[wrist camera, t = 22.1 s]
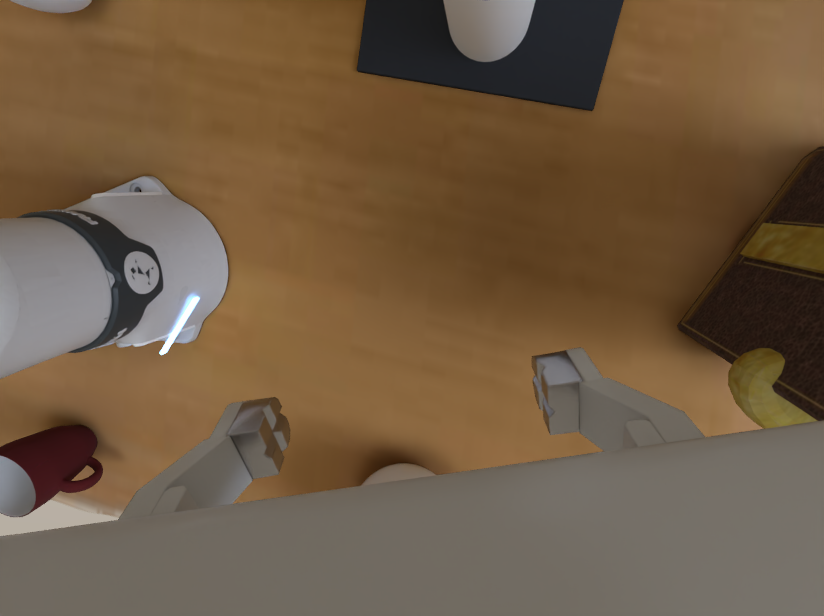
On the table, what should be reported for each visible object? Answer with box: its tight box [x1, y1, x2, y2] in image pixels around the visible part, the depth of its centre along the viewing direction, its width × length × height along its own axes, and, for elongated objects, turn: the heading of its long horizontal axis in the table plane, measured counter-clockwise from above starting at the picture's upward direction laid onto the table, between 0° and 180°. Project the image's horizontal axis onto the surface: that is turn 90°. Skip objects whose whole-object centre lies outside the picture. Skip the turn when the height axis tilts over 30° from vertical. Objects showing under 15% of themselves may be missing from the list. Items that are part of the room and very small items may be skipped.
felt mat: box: [357, 0, 623, 111], centre depth 38 cm, size 22×12×1 cm, turn 79°
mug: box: [0, 425, 103, 517], centre depth 52 cm, size 11×8×10 cm
